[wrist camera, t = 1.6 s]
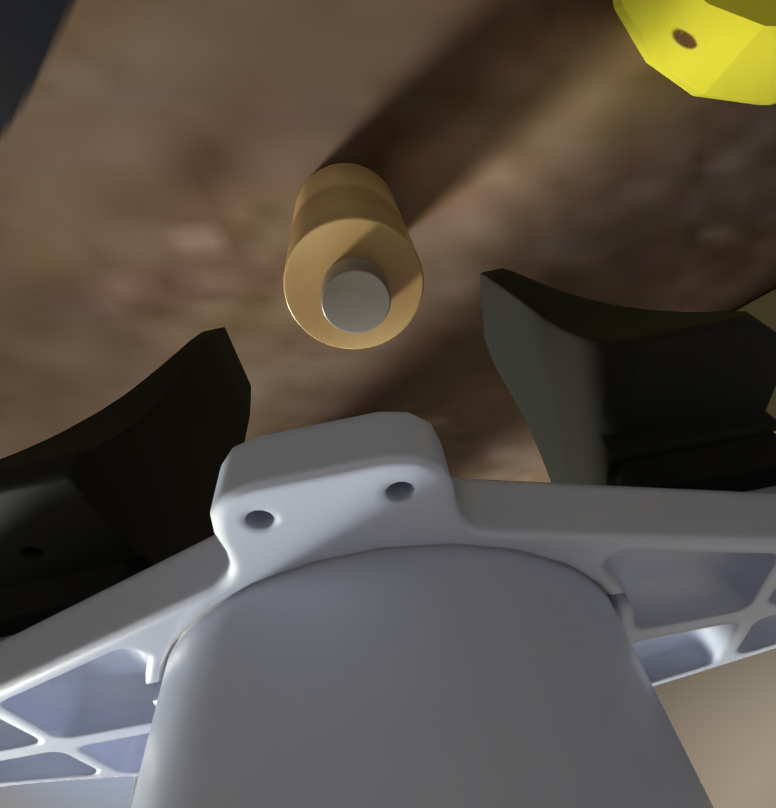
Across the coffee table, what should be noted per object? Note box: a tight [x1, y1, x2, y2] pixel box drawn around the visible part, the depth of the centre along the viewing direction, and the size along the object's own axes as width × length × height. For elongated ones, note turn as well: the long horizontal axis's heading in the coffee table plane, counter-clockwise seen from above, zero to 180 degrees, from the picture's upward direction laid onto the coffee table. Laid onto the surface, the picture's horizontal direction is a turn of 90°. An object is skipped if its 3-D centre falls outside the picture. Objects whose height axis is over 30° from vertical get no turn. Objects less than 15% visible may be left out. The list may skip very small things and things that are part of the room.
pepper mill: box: [283, 163, 424, 349], centre depth 18 cm, size 5×5×9 cm
